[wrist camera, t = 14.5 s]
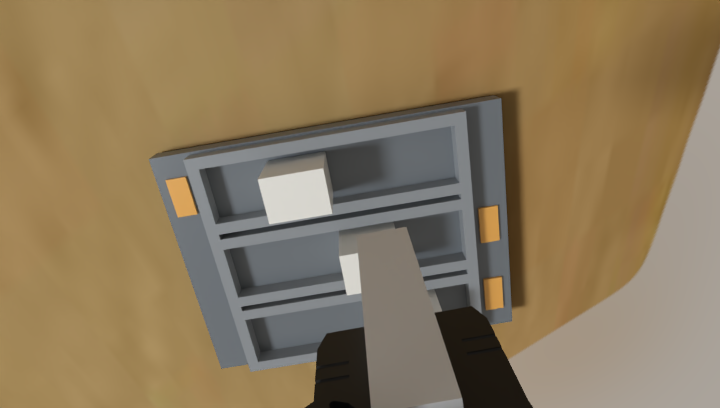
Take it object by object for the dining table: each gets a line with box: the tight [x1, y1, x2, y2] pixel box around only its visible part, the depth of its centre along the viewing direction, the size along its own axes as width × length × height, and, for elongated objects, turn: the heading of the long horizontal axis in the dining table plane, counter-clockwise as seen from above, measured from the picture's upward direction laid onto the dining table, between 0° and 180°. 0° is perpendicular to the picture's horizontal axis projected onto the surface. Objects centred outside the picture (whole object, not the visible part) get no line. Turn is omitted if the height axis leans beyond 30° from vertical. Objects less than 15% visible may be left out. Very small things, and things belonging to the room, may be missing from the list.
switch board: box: [149, 95, 512, 372], centre depth 34 cm, size 18×24×3 cm
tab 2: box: [339, 222, 395, 295], centre depth 32 cm, size 3×4×4 cm
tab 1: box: [258, 151, 333, 224], centre depth 30 cm, size 3×4×4 cm
